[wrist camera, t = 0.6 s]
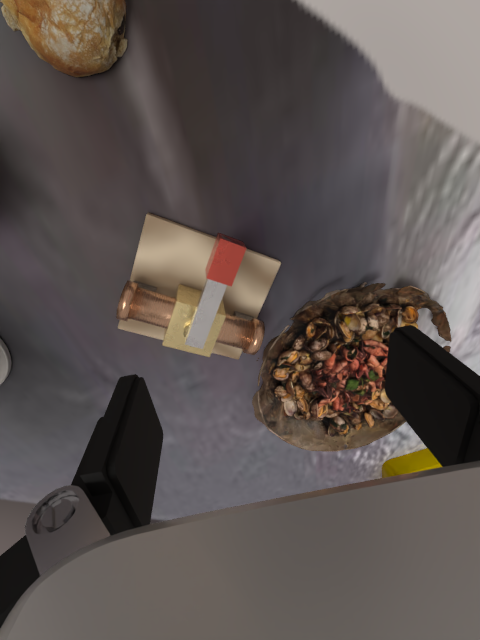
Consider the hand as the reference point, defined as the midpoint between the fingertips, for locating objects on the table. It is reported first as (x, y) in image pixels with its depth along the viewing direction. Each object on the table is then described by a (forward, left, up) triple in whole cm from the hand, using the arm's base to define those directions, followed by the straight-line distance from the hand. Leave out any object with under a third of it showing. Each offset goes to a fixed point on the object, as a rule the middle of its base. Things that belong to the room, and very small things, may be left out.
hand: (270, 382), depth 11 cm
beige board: (-9, 0, -32) cm, 33 cm away
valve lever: (-5, 0, -23) cm, 23 cm away
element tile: (-35, -59, -32) cm, 76 cm away
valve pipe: (-11, 0, -30) cm, 32 cm away
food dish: (-15, -28, -32) cm, 45 cm away
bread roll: (+14, +20, -32) cm, 40 cm away
